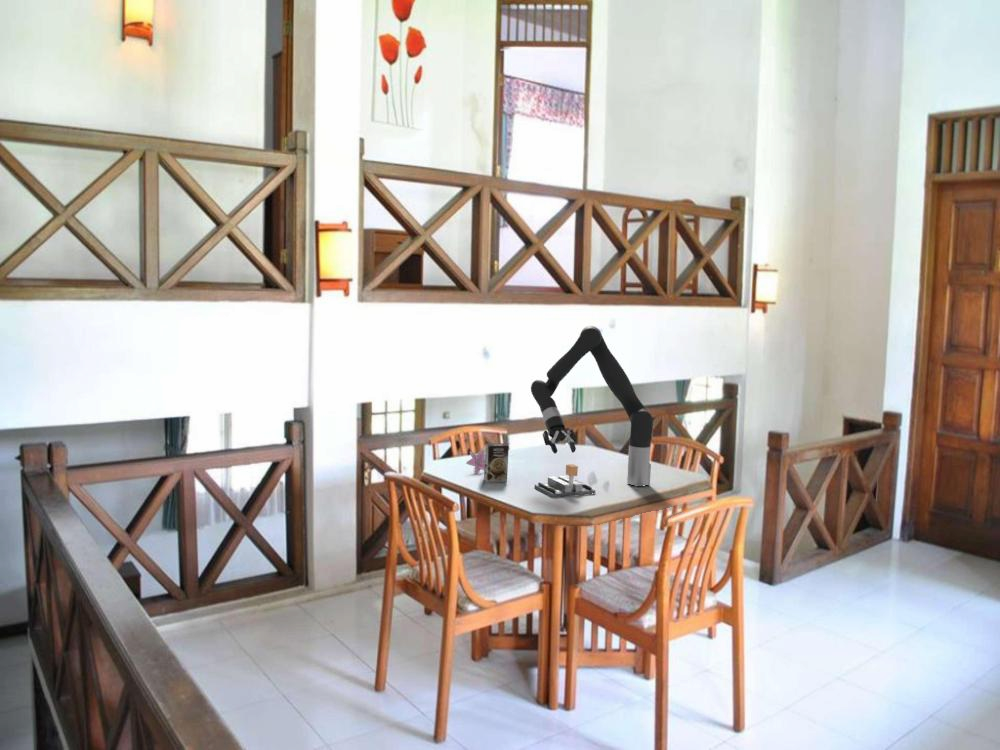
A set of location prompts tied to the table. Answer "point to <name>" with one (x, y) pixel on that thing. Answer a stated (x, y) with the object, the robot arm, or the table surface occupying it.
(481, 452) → the lily
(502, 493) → the table surface
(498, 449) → the coffee box
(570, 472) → the lever
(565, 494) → the breaker panel
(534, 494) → the table surface
